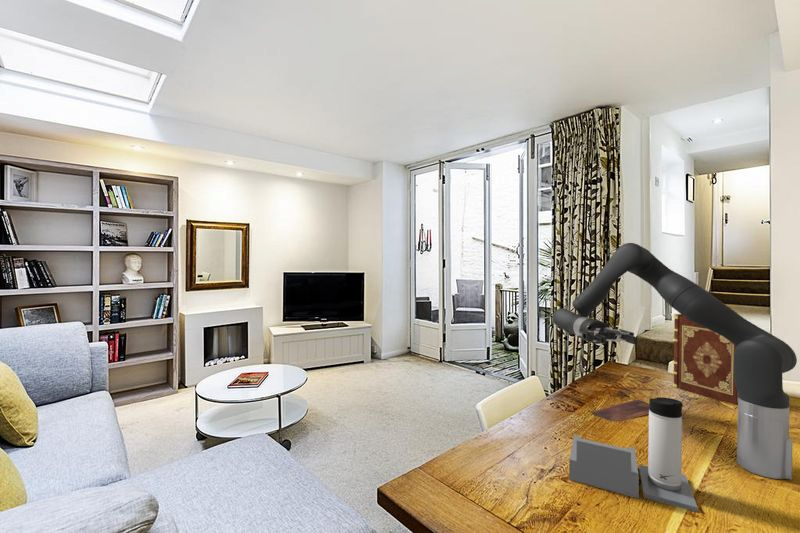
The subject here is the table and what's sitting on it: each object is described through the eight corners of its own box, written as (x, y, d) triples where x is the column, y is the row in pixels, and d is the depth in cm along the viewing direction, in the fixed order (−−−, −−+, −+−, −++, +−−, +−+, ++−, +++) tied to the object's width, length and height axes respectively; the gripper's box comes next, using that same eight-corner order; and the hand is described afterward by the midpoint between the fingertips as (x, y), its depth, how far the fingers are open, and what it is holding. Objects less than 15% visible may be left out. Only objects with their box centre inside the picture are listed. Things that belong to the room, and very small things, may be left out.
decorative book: (668, 385, 152) (669, 314, 151) (680, 383, 155) (681, 313, 154) (736, 405, 131) (738, 323, 131) (747, 401, 135) (749, 321, 134)
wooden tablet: (612, 421, 117) (586, 405, 126) (611, 427, 117) (586, 411, 127) (666, 408, 127) (639, 395, 136) (665, 414, 127) (638, 401, 136)
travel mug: (668, 494, 80) (669, 405, 80) (641, 477, 87) (642, 394, 86) (689, 489, 82) (690, 402, 82) (661, 473, 88) (662, 392, 88)
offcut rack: (634, 467, 93) (634, 428, 93) (638, 498, 81) (639, 454, 80) (573, 452, 100) (574, 416, 99) (569, 479, 88) (569, 438, 87)
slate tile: (685, 479, 88) (685, 475, 88) (697, 512, 76) (697, 507, 76) (638, 468, 92) (639, 464, 92) (643, 497, 81) (643, 493, 81)
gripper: (568, 318, 120) (595, 327, 103) (611, 318, 120) (645, 327, 103) (568, 340, 120) (595, 353, 104) (611, 340, 120) (644, 353, 104)
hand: (620, 340), depth 103 cm, fingers open, 8 cm apart
